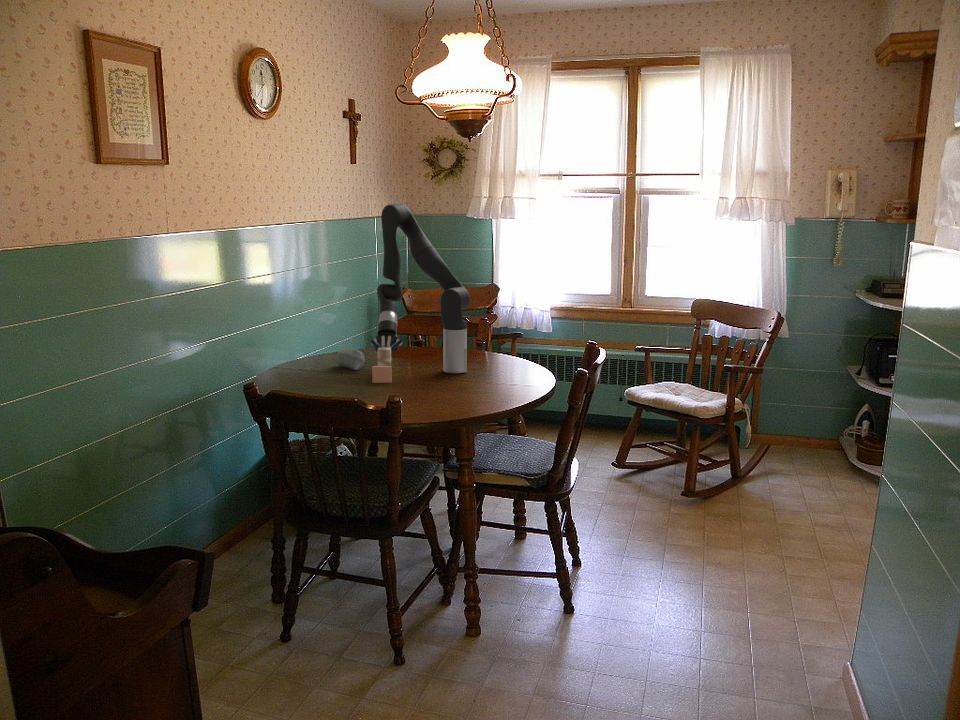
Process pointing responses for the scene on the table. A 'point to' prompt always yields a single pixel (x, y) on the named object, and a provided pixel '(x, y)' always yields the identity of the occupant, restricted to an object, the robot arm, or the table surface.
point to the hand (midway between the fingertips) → (385, 361)
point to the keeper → (384, 356)
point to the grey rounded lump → (350, 358)
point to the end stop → (382, 374)
